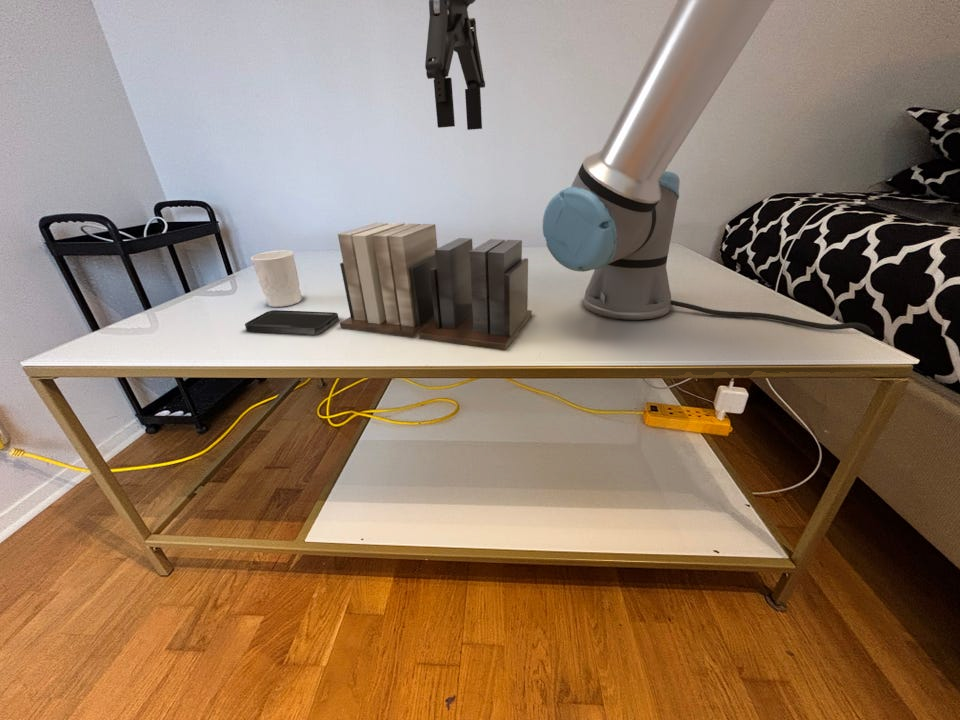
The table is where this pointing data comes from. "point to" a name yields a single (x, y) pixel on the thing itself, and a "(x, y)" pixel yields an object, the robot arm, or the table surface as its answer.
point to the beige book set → (393, 278)
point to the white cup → (278, 277)
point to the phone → (292, 322)
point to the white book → (371, 272)
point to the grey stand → (479, 293)
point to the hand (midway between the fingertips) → (461, 128)
